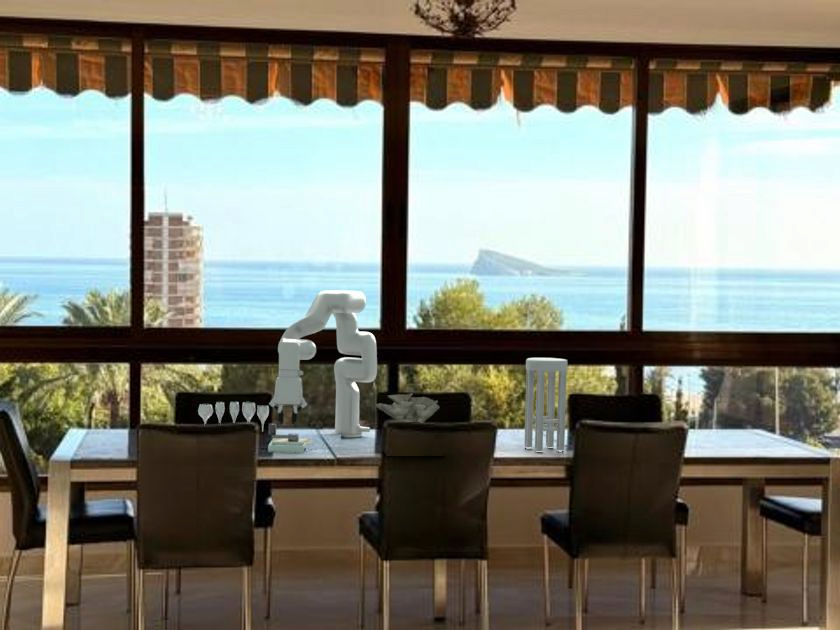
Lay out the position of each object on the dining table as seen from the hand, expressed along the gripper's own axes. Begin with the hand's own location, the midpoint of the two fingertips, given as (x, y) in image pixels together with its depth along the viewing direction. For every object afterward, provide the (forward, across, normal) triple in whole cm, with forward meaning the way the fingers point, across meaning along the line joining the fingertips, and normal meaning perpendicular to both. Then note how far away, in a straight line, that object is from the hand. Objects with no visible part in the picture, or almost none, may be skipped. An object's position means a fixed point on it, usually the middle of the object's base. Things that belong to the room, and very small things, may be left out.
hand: (287, 423), depth 457 cm
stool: (+10, -97, -17) cm, 99 cm away
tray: (+10, 0, 0) cm, 10 cm away
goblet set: (+10, +25, -38) cm, 46 cm away
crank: (+8, +3, -12) cm, 15 cm away
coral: (+10, -45, -3) cm, 46 cm away
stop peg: (+1, 0, 0) cm, 1 cm away
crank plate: (+10, 0, -14) cm, 17 cm away
